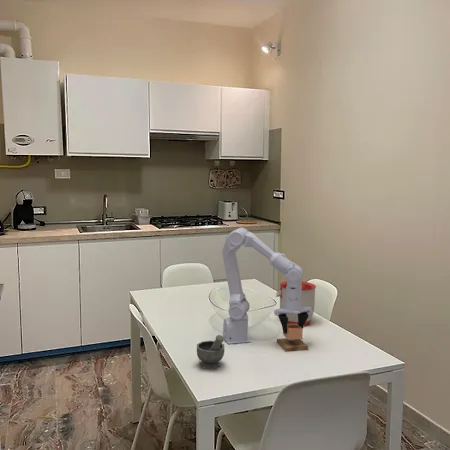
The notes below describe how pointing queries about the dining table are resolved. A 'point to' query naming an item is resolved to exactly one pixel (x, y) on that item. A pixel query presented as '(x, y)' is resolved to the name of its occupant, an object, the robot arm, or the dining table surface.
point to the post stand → (292, 344)
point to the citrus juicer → (306, 300)
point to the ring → (293, 332)
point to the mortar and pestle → (211, 352)
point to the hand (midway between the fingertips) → (292, 332)
